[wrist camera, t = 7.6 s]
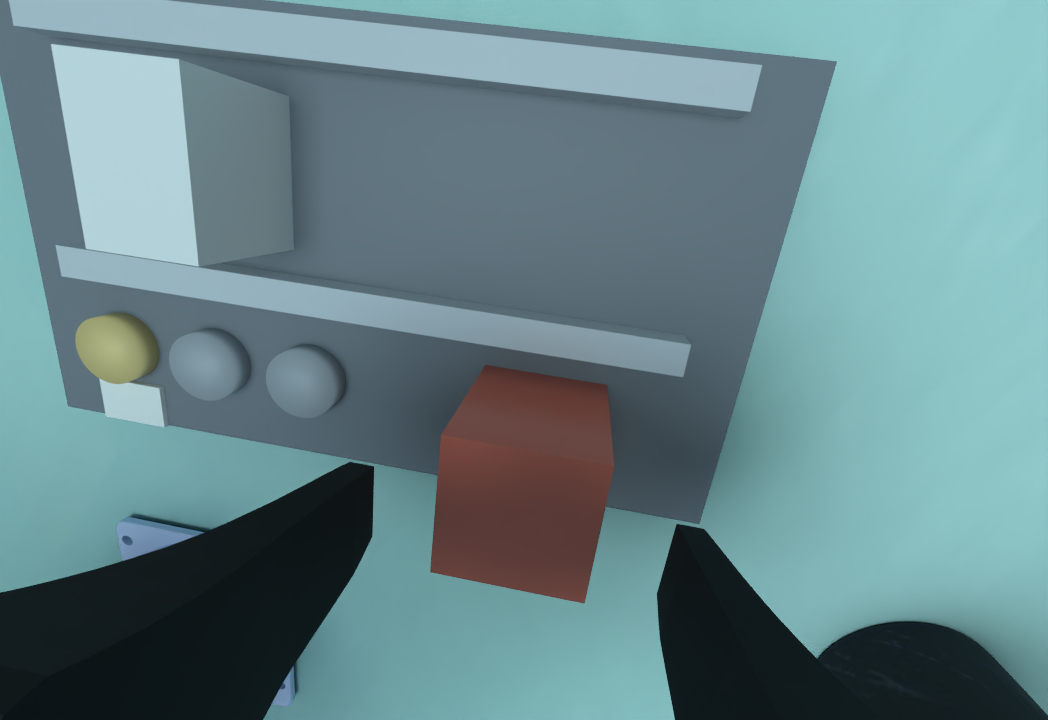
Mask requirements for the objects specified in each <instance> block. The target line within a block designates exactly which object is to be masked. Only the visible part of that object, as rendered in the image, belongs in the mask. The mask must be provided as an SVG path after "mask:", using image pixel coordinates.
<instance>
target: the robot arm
mask: <svg viewBox="0 0 1048 720" xmlns="http://www.w3.org/2000/svg"><path fill="white" fill-rule="evenodd" d="M373 487H374V466H368V465H363V464H358V463H352V462H349V463H347V464H345V465H342V466H340V467H338V468H336V469H334V470H333V471H331V472H329V473H327V474H325V475H323V476H321V477H319V478H317V479H315V480H314V481H312V482H310V483H308V484H306V485H304V486H302V487H300V488H298V489H296V490H294V491H292V492H290V493H289V494H287V495H285V496H283V497H281V498H279V499H277V500H275V501H273V502H271V503H269V504H267V505H264V506H262V507H260V508H258V509H256V510H254V511H252V512H250V513H247V514H245V515H243V516H241V517H239V518H237V519H235V520H233V521H230V522H228V523H226V524H224V525H221V526H219V527H217V528H214V529H212V530H209V531H207V532H200V531H195V530H190V529H185V528H180V527H175V526H171V525H166V524H161V523H156V522H151V521H146V520H141V519H136V518H131V517H127V518H125V519H123V520H122V521H120V522H119V523H118V524H117V535H118V540H119V545H120V551H121V556H122V561H121V562H118V563H115V564H112V565H109V566H105V567H102V568H98V569H95V570H91V571H88V572H84V573H80V574H77V575H73V576H69V577H65V578H61V579H57V580H53V581H49V582H45V583H41V584H37V585H33V586H29V587H24V588H20V589H16V590H11V591H6V592H2V593H0V720H263V719H264V717H265V715H266V713H267V711H268V709H269V708H270V706H271V704H274V705H279V706H288V705H290V704H291V702H292V701H293V699H294V697H295V687H294V664H295V662H296V661H297V659H298V658H299V656H300V655H301V653H302V652H303V650H304V649H305V647H306V646H307V644H308V643H309V641H310V640H311V638H312V637H313V635H314V634H315V632H316V631H317V629H318V628H319V626H320V625H321V623H322V622H323V620H324V619H325V617H326V616H327V614H328V613H329V611H330V610H331V608H332V607H333V605H334V604H335V602H336V601H337V599H338V598H339V596H340V594H341V593H342V591H343V590H344V588H345V587H346V585H347V584H348V582H349V581H350V579H351V577H352V576H353V574H354V572H355V570H356V568H357V566H358V564H359V563H360V561H361V559H362V557H363V555H364V552H365V550H366V548H367V546H368V544H369V542H370V540H371V538H372V526H373ZM657 601H658V618H659V631H660V641H661V647H662V652H663V658H664V663H665V669H666V674H667V679H668V685H669V690H670V695H671V700H672V706H673V711H674V716H675V720H883V719H882V718H881V717H880V716H878V715H877V714H876V713H875V712H874V711H872V710H871V709H870V708H869V707H868V706H867V705H866V704H865V703H863V702H862V701H861V700H860V699H859V698H858V697H857V696H856V695H855V694H853V693H852V692H851V691H850V690H849V689H848V688H847V687H846V686H845V685H844V684H843V683H842V682H841V681H840V680H839V679H838V678H836V677H835V676H834V675H833V674H832V673H831V672H830V671H829V670H828V669H827V668H826V667H825V666H824V665H823V664H822V663H821V662H820V661H819V660H818V659H817V658H816V657H815V656H814V655H813V654H812V653H811V652H810V651H809V650H808V649H807V648H806V647H805V646H804V645H803V644H802V643H801V642H800V641H799V640H798V639H797V638H796V637H795V636H794V635H793V633H792V632H791V631H790V630H789V629H788V628H787V627H786V626H785V625H784V624H783V623H782V622H781V621H780V620H779V618H778V617H777V616H776V615H775V614H774V613H773V612H772V611H771V609H770V608H769V607H768V606H767V605H766V604H765V603H764V601H763V600H762V599H761V598H760V597H759V596H758V594H757V593H756V592H755V591H754V590H753V588H752V587H751V586H750V585H749V584H748V582H747V581H746V580H745V579H744V578H743V576H742V575H741V574H740V573H739V572H738V570H737V569H736V568H735V567H734V565H733V564H732V563H731V562H730V560H729V559H728V558H727V557H726V555H725V554H724V553H723V552H722V550H721V549H720V548H719V547H718V545H717V544H716V543H715V542H714V540H713V539H712V538H711V537H710V536H709V534H708V533H707V532H706V531H705V530H704V529H701V528H696V527H691V526H685V525H680V524H677V525H676V528H675V532H674V535H673V539H672V542H671V546H670V550H669V553H668V557H667V560H666V564H665V567H664V571H663V574H662V578H661V582H660V585H659V589H658V592H657Z"/></svg>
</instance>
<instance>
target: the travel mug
mask: <svg viewBox="0 0 1048 720" xmlns="http://www.w3.org/2000/svg"><path fill="white" fill-rule="evenodd" d="M818 660H819V661H820V662H821V663H822V664H823V665H824V666H825V667H826V668H827V669H828V670H829V671H830V672H831V673H832V674H833V675H834V676H835V677H836V678H838V679H839V680H840V681H841V682H842V683H843V684H844V685H845V686H846V687H847V688H848V689H849V690H850V691H851V692H852V693H853V694H855V695H856V696H857V697H858V698H859V699H860V700H861V701H862V702H863V703H865V704H866V705H867V706H868V707H869V708H870V709H871V710H872V711H874V712H875V713H876V714H877V715H878V716H880V717H881V718H882V719H883V720H1048V715H1047V714H1046V713H1045V712H1044V711H1043V710H1042V709H1041V708H1040V707H1039V705H1038V704H1037V703H1036V702H1035V701H1034V700H1033V699H1032V698H1031V697H1030V696H1029V695H1028V694H1027V692H1026V691H1025V690H1024V689H1023V688H1022V687H1021V686H1020V685H1019V684H1018V683H1017V682H1016V681H1015V680H1014V679H1013V678H1012V677H1011V675H1010V674H1009V673H1008V672H1007V671H1006V670H1005V669H1004V668H1003V667H1002V666H1001V665H1000V664H999V663H998V662H997V661H996V660H995V659H994V658H993V657H992V656H991V655H990V654H989V653H988V652H987V651H986V650H985V649H984V648H983V647H981V646H980V645H979V644H978V643H976V642H975V641H973V640H972V639H970V638H968V637H967V636H965V635H963V634H961V633H959V632H956V631H954V630H951V629H948V628H945V627H942V626H937V625H932V624H926V623H916V622H901V623H889V624H883V625H878V626H874V627H870V628H866V629H863V630H860V631H858V632H855V633H853V634H851V635H849V636H847V637H845V638H843V639H841V640H839V641H838V642H836V643H835V644H833V645H832V646H831V647H830V648H828V649H827V650H826V651H825V652H824V653H823V654H822V655H821V656H820V657H819V658H818Z"/></svg>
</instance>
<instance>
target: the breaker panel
mask: <svg viewBox="0 0 1048 720" xmlns="http://www.w3.org/2000/svg"><path fill="white" fill-rule="evenodd" d="M51 44H56V45H64V46H72V47H81V48H89V49H97V50H106V51H114V52H123V53H131V54H139V55H148V56H156V57H164V58H173V59H180V60H183V61H186V62H189V63H192V64H195V65H197V66H200V67H203V68H206V69H209V70H212V71H215V72H218V73H221V74H224V75H227V76H230V77H233V78H236V79H239V80H242V81H245V82H248V83H251V84H254V85H257V86H260V87H263V88H266V89H269V90H272V91H275V92H278V93H281V94H284V95H287V96H289V106H290V139H291V171H292V204H293V236H294V250H290V251H284V252H279V253H273V254H267V255H262V256H256V257H250V258H245V259H239V260H233V261H227V262H222V263H216V264H210V265H205V266H199V267H198V266H192V265H186V264H179V263H173V262H166V261H160V260H154V259H147V258H141V257H134V256H128V255H122V254H115V253H109V252H103V251H96V250H90V249H86V246H85V240H84V235H83V229H82V223H81V217H80V211H79V205H78V200H77V194H76V188H75V182H74V176H73V170H72V165H71V159H70V153H69V147H68V141H67V135H66V129H65V124H64V118H63V112H62V106H61V100H60V94H59V89H58V83H57V77H56V71H55V65H54V59H53V54H52V48H51ZM836 63H837V62H836V61H827V60H818V59H808V58H799V57H790V56H780V55H771V54H761V53H752V52H743V51H733V50H724V49H715V48H705V47H696V46H687V45H677V44H668V43H659V42H649V41H640V40H631V39H621V38H612V37H603V36H593V35H584V34H575V33H565V32H556V31H547V30H537V29H528V28H519V27H509V26H500V25H491V24H481V23H472V22H462V21H453V20H444V19H434V18H425V17H416V16H406V15H397V14H388V13H378V12H369V11H360V10H350V9H341V8H332V7H322V6H313V5H304V4H294V3H285V2H276V1H266V0H0V76H1V81H2V85H3V90H4V95H5V100H6V105H7V110H8V115H9V120H10V125H11V129H12V134H13V139H14V144H15V149H16V154H17V159H18V164H19V168H20V173H21V178H22V183H23V188H24V193H25V198H26V203H27V207H28V212H29V217H30V222H31V227H32V232H33V237H34V242H35V247H36V251H37V256H38V261H39V266H40V271H41V276H42V281H43V286H44V290H45V295H46V300H47V305H48V310H49V315H50V320H51V325H52V330H53V334H54V339H55V344H56V349H57V354H58V359H59V364H60V369H61V373H62V378H63V383H64V388H65V393H66V398H67V403H68V406H70V407H75V408H80V409H86V410H91V411H96V412H102V413H105V414H106V417H112V418H117V419H122V420H128V421H133V422H138V423H144V424H149V425H154V426H160V427H166V426H168V425H171V426H177V427H182V428H188V429H193V430H198V431H204V432H209V433H214V434H220V435H225V436H230V437H236V438H241V439H246V440H252V441H257V442H263V443H268V444H273V445H279V446H284V447H289V448H295V449H300V450H305V451H311V452H316V453H322V454H327V455H332V456H338V457H343V458H348V459H354V460H359V461H364V462H370V463H375V464H380V465H386V466H391V467H397V468H402V469H407V470H413V471H418V472H423V473H429V474H434V475H438V468H439V455H440V442H441V434H442V433H443V431H444V430H445V428H446V426H447V425H448V423H449V422H450V420H451V418H452V417H453V415H454V414H455V412H456V411H457V409H458V407H459V406H460V404H461V403H462V401H463V399H464V398H465V396H466V395H467V393H468V392H469V390H470V388H471V387H472V385H473V384H474V382H475V380H476V379H477V377H478V376H479V374H480V373H481V371H482V369H483V368H484V366H485V365H490V366H496V367H502V368H508V369H514V370H520V371H526V372H532V373H538V374H544V375H550V376H556V377H563V378H569V379H575V380H581V381H587V382H593V383H599V384H605V385H607V388H608V400H609V411H610V423H611V434H612V446H613V457H614V470H613V474H612V479H611V483H610V488H609V493H608V497H607V502H606V507H611V508H616V509H622V510H627V511H632V512H638V513H643V514H648V515H654V516H659V517H665V518H670V519H675V520H681V521H686V522H691V523H697V524H699V523H700V519H701V516H702V513H703V509H704V506H705V502H706V499H707V496H708V492H709V489H710V486H711V482H712V479H713V476H714V472H715V469H716V466H717V462H718V459H719V455H720V452H721V449H722V445H723V442H724V439H725V435H726V432H727V429H728V425H729V422H730V419H731V415H732V412H733V409H734V405H735V402H736V398H737V395H738V392H739V388H740V385H741V382H742V378H743V375H744V372H745V368H746V365H747V362H748V358H749V355H750V351H751V348H752V345H753V341H754V338H755V335H756V331H757V328H758V325H759V321H760V318H761V315H762V311H763V308H764V304H765V301H766V298H767V294H768V291H769V288H770V284H771V281H772V278H773V274H774V271H775V268H776V264H777V261H778V257H779V254H780V251H781V247H782V244H783V241H784V237H785V234H786V231H787V227H788V224H789V221H790V217H791V214H792V211H793V207H794V204H795V200H796V197H797V194H798V190H799V187H800V184H801V180H802V177H803V174H804V170H805V167H806V164H807V160H808V157H809V153H810V150H811V147H812V143H813V140H814V137H815V133H816V130H817V127H818V123H819V120H820V117H821V113H822V110H823V106H824V103H825V100H826V96H827V93H828V90H829V86H830V83H831V80H832V76H833V73H834V70H835V66H836Z"/></svg>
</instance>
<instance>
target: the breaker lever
mask: <svg viewBox="0 0 1048 720" xmlns="http://www.w3.org/2000/svg"><path fill="white" fill-rule="evenodd" d="M51 48H52V54H53V59H54V65H55V71H56V77H57V83H58V89H59V94H60V100H61V106H62V112H63V118H64V124H65V129H66V135H67V141H68V147H69V153H70V159H71V165H72V170H73V176H74V182H75V188H76V194H77V200H78V205H79V211H80V217H81V223H82V229H83V235H84V240H85V246H86V249H90V250H96V251H103V252H109V253H115V254H122V255H128V256H134V257H141V258H147V259H154V260H160V261H166V262H173V263H179V264H186V265H192V266H198V267H199V266H205V265H210V264H216V263H222V262H227V261H233V260H239V259H245V258H250V257H256V256H262V255H267V254H273V253H279V252H284V251H290V250H294V236H293V204H292V171H291V139H290V106H289V96H287V95H284V94H281V93H278V92H275V91H272V90H269V89H266V88H263V87H260V86H257V85H254V84H251V83H248V82H245V81H242V80H239V79H236V78H233V77H230V76H227V75H224V74H221V73H218V72H215V71H212V70H209V69H206V68H203V67H200V66H197V65H195V64H192V63H189V62H186V61H183V60H180V59H173V58H164V57H156V56H148V55H139V54H131V53H123V52H114V51H106V50H97V49H89V48H81V47H72V46H64V45H56V44H51Z"/></svg>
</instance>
